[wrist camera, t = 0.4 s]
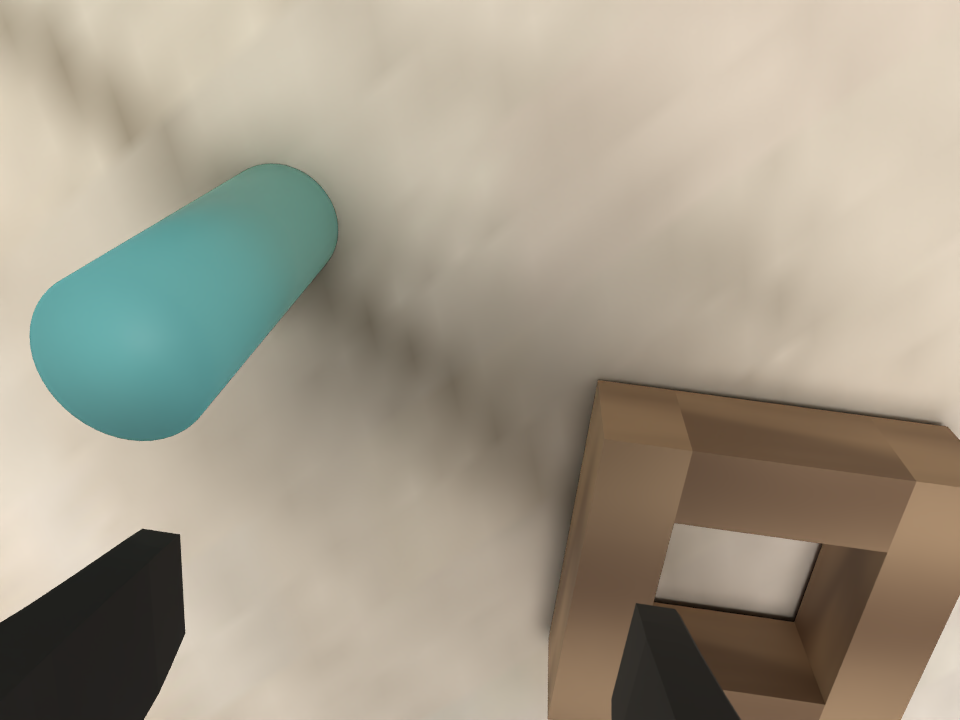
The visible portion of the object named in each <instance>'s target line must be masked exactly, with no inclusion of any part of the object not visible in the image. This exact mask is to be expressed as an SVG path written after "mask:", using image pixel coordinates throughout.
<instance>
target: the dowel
mask: <svg viewBox="0 0 960 720" xmlns="http://www.w3.org/2000/svg"><path fill="white" fill-rule="evenodd" d="M337 238H338V222H337V216H336V213H335V210H334V207H333V205H332V203H331V201H330V199H329V197H328V196H327V194H326V193H325V191H324V190H323V189H322V188H321V186H320V185H319V184H318V183H317V182H316V181H314V180H313V179H312V178H311V177H309V176H308V175H306V174H305V173H303V172H301V171H299V170H297V169H295V168H292V167H289V166H286V165H281V164H262V165H257V166H254V167H251V168H249V169H247V170H245V171H243V172H241V173H240V174H238V175H236V176H235V177H233V178H231V179H230V180H228V181H226V182H225V183H223V184H221V185H220V186H218V187H216V188H215V189H213V190H211V191H210V192H208V193H206V194H204V195H203V196H201V197H199V198H198V199H196V200H194V201H193V202H191V203H189V204H188V205H186V206H184V207H183V208H181V209H179V210H178V211H176V212H174V213H173V214H171V215H169V216H168V217H166V218H164V219H162V220H161V221H159V222H157V223H156V224H154V225H152V226H151V227H149V228H147V229H146V230H144V231H142V232H141V233H139V234H137V235H136V236H134V237H132V238H131V239H129V240H127V241H126V242H124V243H122V244H121V245H119V246H117V247H115V248H114V249H112V250H110V251H109V252H107V253H105V254H104V255H102V256H100V257H99V258H97V259H95V260H94V261H92V262H90V263H89V264H87V265H85V266H84V267H82V268H80V269H79V270H77V271H75V272H73V273H72V274H70V275H68V276H67V277H65V278H63V279H62V280H60V281H58V282H57V283H56V284H54V285H53V286H52V287H51V288H49V289H48V290H47V292H46V293H45V294H44V295H43V296H42V297H41V299H40V301H39V302H38V304H37V306H36V308H35V311H34V313H33V316H32V320H31V325H30V347H31V352H32V356H33V360H34V363H35V366H36V368H37V371H38V373H39V375H40V377H41V379H42V381H43V382H44V384H45V385H46V387H47V388H48V390H49V391H50V392H51V394H52V395H53V396H54V397H55V399H56V400H57V401H58V402H59V403H60V404H61V405H62V406H63V407H64V408H65V409H66V410H67V411H68V412H70V413H71V414H72V415H73V416H74V417H76V418H77V419H79V420H80V421H82V422H83V423H85V424H87V425H88V426H90V427H92V428H94V429H96V430H98V431H100V432H103V433H105V434H108V435H111V436H114V437H118V438H122V439H127V440H136V441H152V440H158V439H164V438H167V437H170V436H173V435H176V434H178V433H180V432H182V431H184V430H185V429H187V428H188V427H190V426H191V425H192V424H193V423H194V422H195V421H196V420H197V419H198V418H199V417H200V416H201V415H202V413H203V412H204V411H205V410H206V409H207V407H208V406H209V405H210V404H211V403H212V401H213V400H214V399H215V398H216V397H217V395H218V394H219V393H220V392H221V390H222V389H223V388H224V387H225V386H226V384H227V383H228V382H229V381H230V380H231V378H232V377H233V376H234V375H235V374H236V372H237V371H238V370H239V369H240V367H241V366H242V365H243V364H244V363H245V361H246V360H247V359H248V358H249V357H250V355H251V354H252V353H253V352H254V351H255V349H256V348H257V347H258V346H259V344H260V343H261V342H262V341H263V340H264V338H265V337H266V336H267V335H268V334H269V332H270V331H271V330H272V329H273V328H274V326H275V325H276V324H277V323H278V321H279V320H280V319H281V318H282V317H283V315H284V314H285V313H286V312H287V311H288V309H289V308H290V307H291V306H292V304H293V303H294V302H295V301H296V300H297V298H298V297H299V296H300V295H301V294H302V292H303V291H304V290H305V289H306V288H307V286H308V285H309V284H310V283H311V281H312V280H313V279H314V278H315V277H316V275H317V274H318V273H319V272H320V271H321V269H322V268H323V267H324V266H325V264H326V263H327V262H328V261H329V259H330V258H331V256H332V254H333V252H334V249H335V247H336V243H337Z"/></svg>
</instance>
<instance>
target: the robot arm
mask: <svg viewBox="0 0 960 720" xmlns="http://www.w3.org/2000/svg"><path fill="white" fill-rule="evenodd" d="M184 635H185V620H184V601H183V582H182V563H181V544H180V534H173V533H167V532H160V531H153V530H147V529H141V530H140V531H138V532H137V533H135V534H134V535H132V536H130V537H129V538H127V539H126V540H125V541H123V542H122V543H120V544H119V545H117V546H116V547H114V548H113V549H111V550H110V551H108V552H107V553H106V554H104V555H103V556H101V557H100V558H98V559H97V560H95V561H94V562H92V563H91V564H89V565H88V566H87V567H85V568H84V569H82V570H81V571H79V572H78V573H76V574H75V575H73V576H72V577H70V578H69V579H67V580H66V581H64V582H63V583H61V584H60V585H58V586H57V587H55V588H54V589H52V590H51V591H49V592H48V593H46V594H45V595H43V596H42V597H40V598H39V599H37V600H36V601H34V602H33V603H31V604H30V605H28V606H27V607H25V608H23V609H22V610H20V611H19V612H17V613H15V614H14V615H12V616H10V617H9V618H7V619H5V620H4V621H2V622H0V720H144V718H145V716H146V715H147V713H148V711H149V710H150V708H151V706H152V704H153V703H154V701H155V699H156V697H157V696H158V694H159V692H160V690H161V687H162V685H163V683H164V681H165V679H166V676H167V674H168V672H169V670H170V668H171V665H172V663H173V661H174V658H175V656H176V654H177V651H178V649H179V647H180V644H181V642H182V640H183V637H184ZM611 720H741V718H740V717H739V715H738V714H737V712H736V711H735V709H734V707H733V706H732V704H731V703H730V701H729V700H728V698H727V696H726V695H725V693H724V691H723V690H722V688H721V687H720V685H719V683H718V682H717V680H716V678H715V676H714V675H713V673H712V671H711V670H710V668H709V666H708V664H707V663H706V661H705V659H704V658H703V656H702V654H701V652H700V650H699V649H698V647H697V645H696V643H695V642H694V640H693V638H692V636H691V634H690V632H689V631H688V629H687V627H686V625H685V623H684V621H683V620H682V618H681V616H680V615H679V613H678V612H677V611H676V609H673V608H666V607H659V606H653V605H646V604H639V603H636V604H635V608H634V612H633V616H632V620H631V624H630V628H629V632H628V636H627V640H626V643H625V647H624V651H623V655H622V659H621V663H620V667H619V671H618V675H617V679H616V683H615V686H614V690H613V694H612V698H611Z"/></svg>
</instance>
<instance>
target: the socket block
mask: <svg viewBox="0 0 960 720" xmlns="http://www.w3.org/2000/svg"><path fill="white" fill-rule="evenodd" d="M674 523H678V524H685V525H692V526H699V527H707V528H714V529H721V530H728V531H735V532H743V533H750V534H757V535H764V536H771V537H779V538H786V539H793V540H800V541H807V542H815V543H822V544H823V545H822V547H821V550H820V553H819V556H818V558H817V561H816V564H815V567H814V569H813V572H812V575H811V578H810V580H809V583H808V586H807V589H806V591H805V594H804V597H803V600H802V602H801V605H800V608H799V611H798V613H797V616H796V619H795V622H790V621H783V620H776V619H769V618H762V617H755V616H747V615H740V614H733V613H726V612H719V611H712V610H705V609H698V608H691V607H684V606H677V605H670V604H663V603H656V602H654V599H655V595H656V591H657V587H658V583H659V579H660V575H661V572H662V568H663V564H664V560H665V556H666V552H667V548H668V545H669V541H670V537H671V533H672V529H673V525H674ZM959 595H960V440H959V439H958V438H957V437H956V436H955V434H954V433H953V432H952V431H951V430H950V429H949V428H948V427H946V426H938V425H931V424H923V423H916V422H908V421H901V420H893V419H886V418H878V417H871V416H863V415H856V414H849V413H841V412H834V411H826V410H819V409H811V408H804V407H796V406H789V405H781V404H774V403H766V402H759V401H751V400H744V399H736V398H729V397H721V396H714V395H706V394H699V393H691V392H684V391H676V390H669V389H661V388H654V387H646V386H639V385H631V384H624V383H616V382H609V381H601V380H598V383H597V388H596V393H595V398H594V404H593V409H592V414H591V419H590V425H589V430H588V435H587V440H586V445H585V451H584V456H583V461H582V466H581V472H580V477H579V482H578V487H577V493H576V498H575V503H574V508H573V514H572V519H571V524H570V529H569V535H568V540H567V545H566V550H565V556H564V561H563V566H562V571H561V576H560V582H559V587H558V592H557V597H556V603H555V608H554V613H553V618H552V624H551V629H550V634H549V647H548V720H611V698H612V694H613V690H614V686H615V683H616V679H617V675H618V671H619V667H620V663H621V659H622V655H623V651H624V647H625V643H626V640H627V636H628V632H629V628H630V624H631V620H632V616H633V612H634V608H635V604H636V603H639V604H646V605H653V606H659V607H666V608H673V609H676V611H677V612H678V613H679V615H680V616H681V618H682V620H683V621H684V623H685V625H686V627H687V629H688V631H689V632H690V634H691V636H692V638H693V640H694V642H695V643H696V645H697V647H698V649H699V650H700V652H701V654H702V656H703V658H704V659H705V661H706V663H707V664H708V666H709V668H710V670H711V671H712V673H713V675H714V676H715V678H716V680H717V682H718V683H719V685H720V687H721V688H722V690H723V691H724V693H725V695H726V696H727V698H728V700H729V701H730V703H731V704H732V706H733V707H734V709H735V711H736V712H737V714H738V715H739V717H740V718H741V720H901V718H902V716H903V714H904V712H905V710H906V708H907V705H908V703H909V701H910V699H911V697H912V695H913V693H914V691H915V688H916V686H917V684H918V682H919V680H920V678H921V676H922V674H923V671H924V669H925V667H926V665H927V663H928V661H929V659H930V657H931V655H932V652H933V650H934V648H935V646H936V644H937V642H938V640H939V638H940V635H941V633H942V631H943V629H944V627H945V625H946V623H947V621H948V618H949V616H950V614H951V612H952V610H953V608H954V606H955V604H956V601H957V599H958V597H959Z"/></svg>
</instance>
